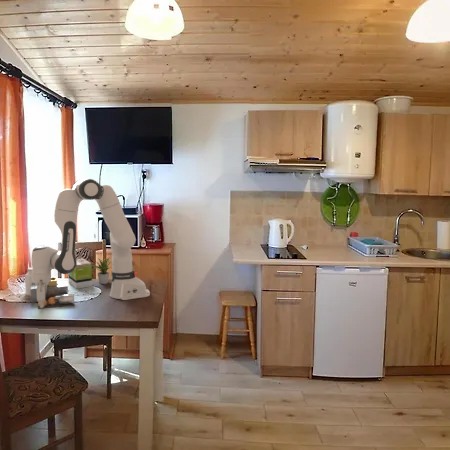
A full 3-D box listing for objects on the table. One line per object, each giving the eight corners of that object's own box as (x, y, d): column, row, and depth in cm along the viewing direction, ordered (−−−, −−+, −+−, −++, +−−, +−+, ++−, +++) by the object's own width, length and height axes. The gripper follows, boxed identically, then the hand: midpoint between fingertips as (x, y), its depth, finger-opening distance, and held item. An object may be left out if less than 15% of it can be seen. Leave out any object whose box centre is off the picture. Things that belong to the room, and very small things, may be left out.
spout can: (73, 301, 213) (73, 292, 213) (74, 304, 209) (73, 295, 208) (54, 303, 210) (54, 294, 209) (54, 306, 205) (54, 297, 205)
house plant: (98, 278, 262) (98, 253, 259) (118, 279, 259) (118, 255, 257) (87, 284, 248) (87, 258, 245) (108, 286, 245) (108, 259, 243)
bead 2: (56, 303, 211) (56, 295, 210) (56, 305, 207) (55, 298, 206) (48, 304, 209) (47, 296, 209) (47, 306, 206) (47, 299, 205)
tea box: (67, 283, 249) (67, 259, 247) (84, 280, 256) (83, 257, 254) (76, 289, 238) (75, 264, 236) (92, 286, 244) (92, 262, 242)
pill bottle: (42, 295, 225) (41, 268, 223) (26, 297, 220) (25, 270, 218) (40, 291, 231) (39, 265, 229) (24, 293, 227) (23, 267, 225)
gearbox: (67, 294, 227) (67, 275, 226) (67, 300, 216) (67, 280, 215) (32, 296, 221) (32, 277, 220) (30, 303, 210) (30, 283, 208)
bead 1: (47, 305, 207) (46, 297, 207) (46, 307, 204) (46, 300, 203) (38, 305, 206) (38, 298, 205) (38, 308, 202) (37, 300, 202)
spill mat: (73, 301, 216) (73, 300, 216) (74, 306, 207) (74, 305, 207) (39, 304, 210) (39, 303, 209) (37, 309, 201) (37, 309, 201)
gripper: (47, 283, 194) (48, 310, 196) (49, 272, 213) (50, 297, 215) (33, 283, 192) (33, 311, 194) (36, 273, 211) (37, 298, 213)
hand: (42, 304), depth 204 cm, fingers open, 8 cm apart
